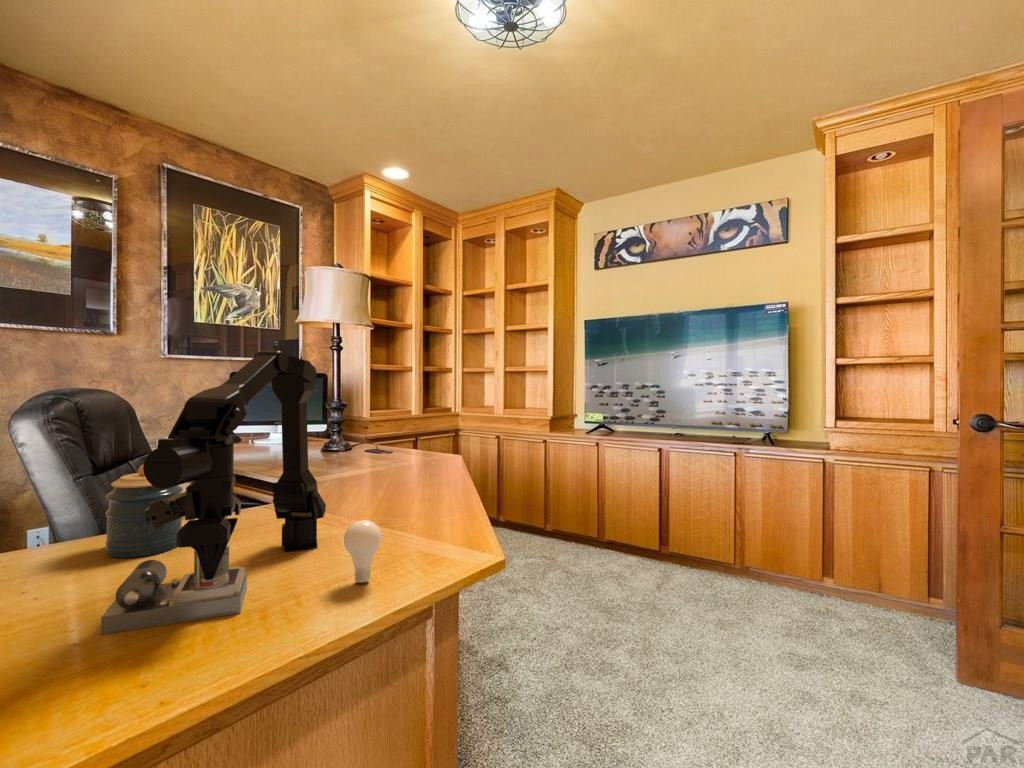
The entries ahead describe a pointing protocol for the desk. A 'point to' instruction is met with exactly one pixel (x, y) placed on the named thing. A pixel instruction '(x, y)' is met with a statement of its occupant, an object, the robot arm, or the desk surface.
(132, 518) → the canister
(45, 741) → the desk surface
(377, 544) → the lightbulb
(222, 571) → the pill bottle
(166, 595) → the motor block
